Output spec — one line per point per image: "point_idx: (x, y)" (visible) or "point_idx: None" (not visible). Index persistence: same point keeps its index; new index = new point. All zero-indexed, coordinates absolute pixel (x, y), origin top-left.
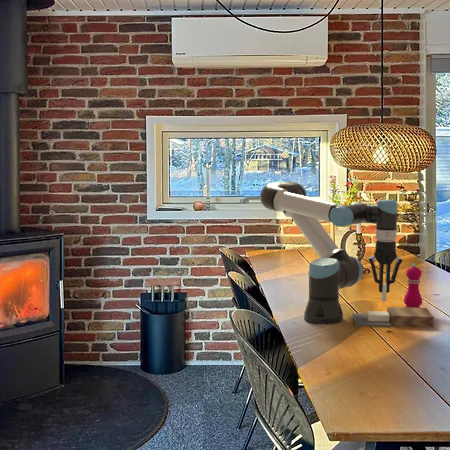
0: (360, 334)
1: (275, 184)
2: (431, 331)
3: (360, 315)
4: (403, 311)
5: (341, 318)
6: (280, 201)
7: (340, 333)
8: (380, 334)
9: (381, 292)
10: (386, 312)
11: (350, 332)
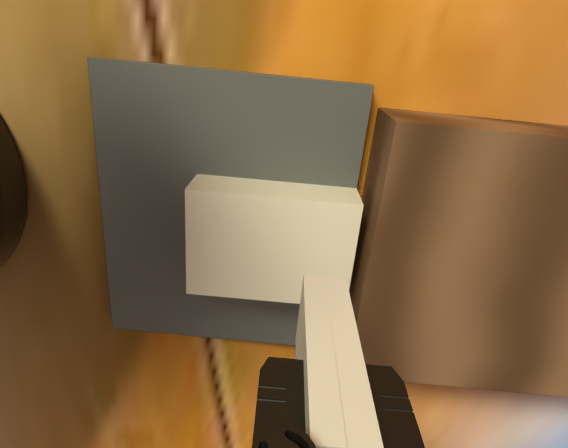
0: (138, 439)
1: None
2: (528, 410)
3: (153, 128)
4: (483, 271)
5: (7, 244)
6: None
7: (38, 424)
8: (238, 441)
9: (304, 333)
10: (345, 234)
11: (88, 413)
